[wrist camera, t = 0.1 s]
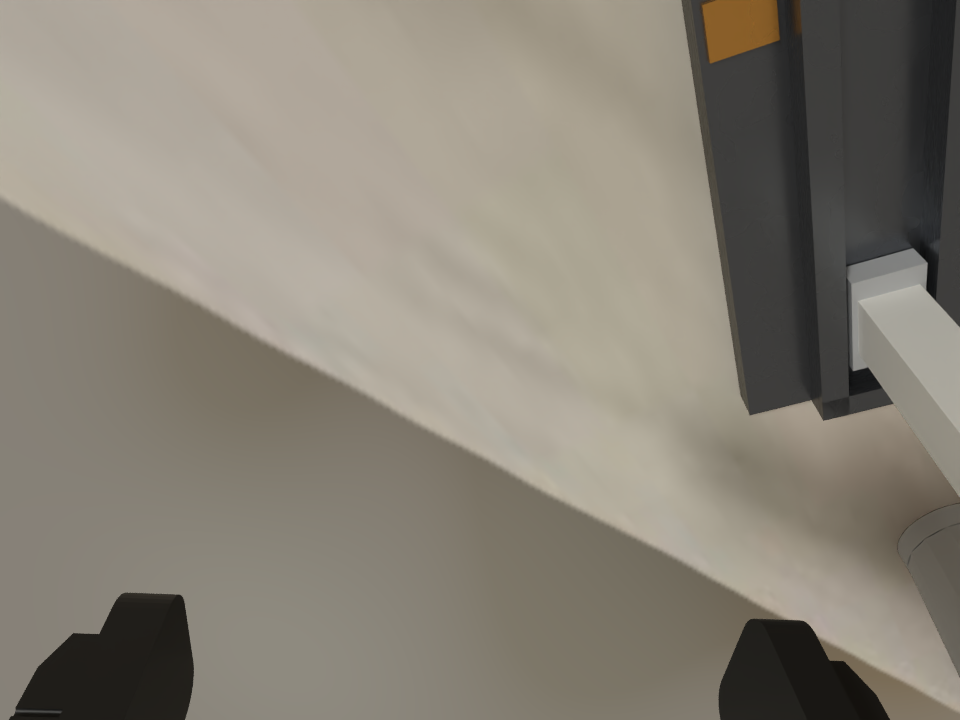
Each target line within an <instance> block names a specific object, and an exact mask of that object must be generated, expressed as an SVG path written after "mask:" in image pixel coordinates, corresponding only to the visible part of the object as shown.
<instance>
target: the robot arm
mask: <svg viewBox="0 0 960 720" xmlns="http://www.w3.org/2000/svg"><path fill="white" fill-rule="evenodd" d="M193 676H194V665H193V657H192V650H191V644H190V637H189V630H188V624H187V616H186V610H185V603H184V599H183V597H182V596H181V595H173V594H146V593H123V594H121V595H120V596H119V597H118V599H117V600H116V602H115V603H114V605H113V607H112V609H111V611H110V613H109V615H108V617H107V620H106V622H105V624H104V626H103V628H102V630H101V632H100V634H78V633H73V634H72V635H71V636H70V637H69V638H68V639H67V640H66V641H65V642H64V643H63V644H62V645H61V646H60V647H58V649H56V650H55V651H54V652H53V653H52V654H51V655H50V656H49V657H48V658H47V659H46V660H45V661H44V662H43V663H42V664H41V665H40V666H39V667H38V668H37V670H36V672H35V673H34V675H33V677H32V679H31V681H30V683H29V684H28V686H27V688H26V690H25V692H24V693H23V695H22V697H21V699H20V701H19V703H18V704H17V706H16V711H15V714H14V716H11V717H10V719H9V720H185V718H186V714H187V711H188V707H189V703H190V698H191V693H192V687H193ZM719 713H720V719H721V720H890V719H889V717H888V715H887V713H886V712H885V710H884V708H883V706H882V704H881V703H880V701H879V699H878V697H877V696H876V694H875V693H874V692H873V691H872V690H871V689H870V688H869V687H868V686H867V685H866V684H865V683H864V682H863V681H862V680H861V678H859V676H858V675H857V674H856V673H855V672H854V671H853V670H852V669H851V668H850V667H849V666H848V665H847V664H846V663H845V662H844V661H829V659H828V657H827V655H826V653H825V651H824V649H823V647H822V646H821V644H820V642H819V640H818V638H817V636H816V634H815V632H814V631H813V629H812V628H811V627H810V626H809V625H808V624H807V623H806V622H804V621H800V620H774V619H750V620H749V621H748V622H747V623H746V625H745V627H744V629H743V631H742V634H741V636H740V638H739V641H738V643H737V645H736V648H735V650H734V653H733V655H732V657H731V660H730V662H729V665H728V667H727V669H726V671H725V674H724V676H723V679H722V681H721V685H720V689H719Z"/></svg>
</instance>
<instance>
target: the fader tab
mask: <svg viewBox="0 0 960 720" xmlns="http://www.w3.org/2000/svg"><path fill="white" fill-rule="evenodd" d="M927 264H928V263H927V262H926V261H925V260H924V259H923V258H922V257H921V256H920V255H919V254H918V253H917V252H916V251H915V250H914V248H912V249H908V250H905V251H901V252H897V253H894V254H890V255H887V256H883V257H880V258H876V259H872V260H869V261H865V262H862V263H858V264H854V265H851V266H847V267H846V291H847V332H848V364H849V366H850V367H851V369H852V370H853V371H856V370H860V369H864V368H867V367H868V368H869V369H870V370H871V372H872V373H873V375H874V376H875V378H876V379H877V380H878V382H879V383H880V385H881V386H882V388H883V389H884V390H885V392H886V393H887V395H888V396H889V398H890V399H891V400H892V402H893V403H894V405H895V406H896V408H897V409H898V410H899V412H900V413H901V415H902V416H903V417H904V419H905V420H906V422H907V423H908V425H909V426H910V427H911V429H912V430H913V432H914V433H915V435H916V436H917V437H918V439H919V440H920V442H921V443H922V445H923V446H924V447H925V449H926V450H927V452H928V453H929V455H930V456H931V457H932V459H933V460H934V462H935V463H936V464H937V466H938V467H939V469H940V470H941V472H942V473H943V474H944V476H945V477H946V479H947V480H948V482H949V483H950V484H951V486H952V487H953V489H954V490H955V492H956V493H957V494H958V496H959V497H960V327H959V326H958V325H957V324H956V323H955V322H954V321H953V319H952V318H951V317H950V316H949V315H948V314H947V313H946V312H945V311H944V310H943V309H942V307H941V306H940V305H939V304H938V303H937V302H936V301H935V300H934V299H933V298H932V297H931V296H930V294H929V293H928V292H927V291H926V281H927Z"/></svg>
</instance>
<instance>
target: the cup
mask: <svg viewBox="0 0 960 720" xmlns="http://www.w3.org/2000/svg"><path fill="white" fill-rule="evenodd" d="M898 553H899V555H900V556H901V558H902V560H903V562H904V563H905V565H906V567H907V569H908V570H909V572H910V573H911V575H912V577H913V579H914V582H915V584H916V586H917V588H918V590H919V592H920V594H921V596H922V599H923V601H924V603H925V605H926V607H927V609H928V611H929V613H930V615H931V618H932V620H933V622H934V624H935V626H936V628H937V630H938V632H939V635H940V637H941V639H942V641H943V643H944V645H945V647H946V649H947V651H948V654H949V656H950V658H951V660H952V662H953V664H954V666H955V668H956V671H957V673H958V675H959V677H960V503H959V504H954V505H950V506H946V507H943V508H940V509H938V510H935V511H933V512H931V513H929V514H927V515H925V516H923V517H921V518H920V519H918V520H917V521H915V522H914V523H913V524H912V525H910V526H909V527H908V528H907V529H906V530H905V531H904V533H903V534H902V536H901V537H900V539H899V542H898Z"/></svg>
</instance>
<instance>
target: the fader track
mask: <svg viewBox="0 0 960 720" xmlns="http://www.w3.org/2000/svg"><path fill="white" fill-rule="evenodd" d="M682 7H683V13H684V20H685V27H686V33H687V40H688V47H689V54H690V60H691V67H692V74H693V80H694V87H695V94H696V100H697V107H698V114H699V120H700V127H701V134H702V140H703V147H704V154H705V160H706V167H707V174H708V180H709V187H710V194H711V200H712V207H713V214H714V220H715V227H716V234H717V240H718V247H719V254H720V260H721V267H722V274H723V280H724V287H725V294H726V301H727V307H728V314H729V321H730V327H731V334H732V341H733V347H734V354H735V361H736V367H737V374H738V381H739V387H740V394H741V397H742V399H743V401H744V404H745V406H746V408H747V410H748V412H749V414H750V415H753V414H757V413H761V412H765V411H769V410H773V409H777V408H781V407H785V406H789V405H793V404H797V403H801V402H805V401H809V400H812V402H813V403H814V405H815V407H816V409H817V410H818V412H819V414H820V416H821V417H822V419H823V421H824V420H829V419H833V418H837V417H841V416H845V415H849V414H853V413H857V412H861V411H865V410H869V409H873V408H877V407H882V406H886V405H890V404H894V403H893V402H892V400H891V399H890V398H889V396H888V395H887V393H886V392H885V390H884V389H883V388H882V386H881V385H880V383H879V382H878V380H877V379H876V378H875V376H874V375H873V373H872V372H871V370H870V369H869V368H868V367H867V368H864V369H860V370H856V371H853V370H852V369H851V367H850V366H849V364H848V332H847V291H846V267H847V266H851V265H854V264H858V263H862V262H865V261H869V260H872V259H876V258H880V257H883V256H887V255H890V254H894V253H897V252H901V251H905V250H908V249H912V248H914V250H915V251H916V252H917V253H918V254H919V255H920V256H921V257H922V258H923V259H924V260H925V261H926V262H927V263H928V264H927V281H926V291H927V292H928V293H929V294H930V296H931V297H932V298H933V299H934V300H935V301H936V302H937V303H938V304H939V305H940V306H941V307H942V309H943V310H944V311H945V312H946V313H947V314H948V315H949V316H950V317H951V318H952V319H953V321H954V322H955V323H956V324H957V325H958V326H959V327H960V0H682Z"/></svg>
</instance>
